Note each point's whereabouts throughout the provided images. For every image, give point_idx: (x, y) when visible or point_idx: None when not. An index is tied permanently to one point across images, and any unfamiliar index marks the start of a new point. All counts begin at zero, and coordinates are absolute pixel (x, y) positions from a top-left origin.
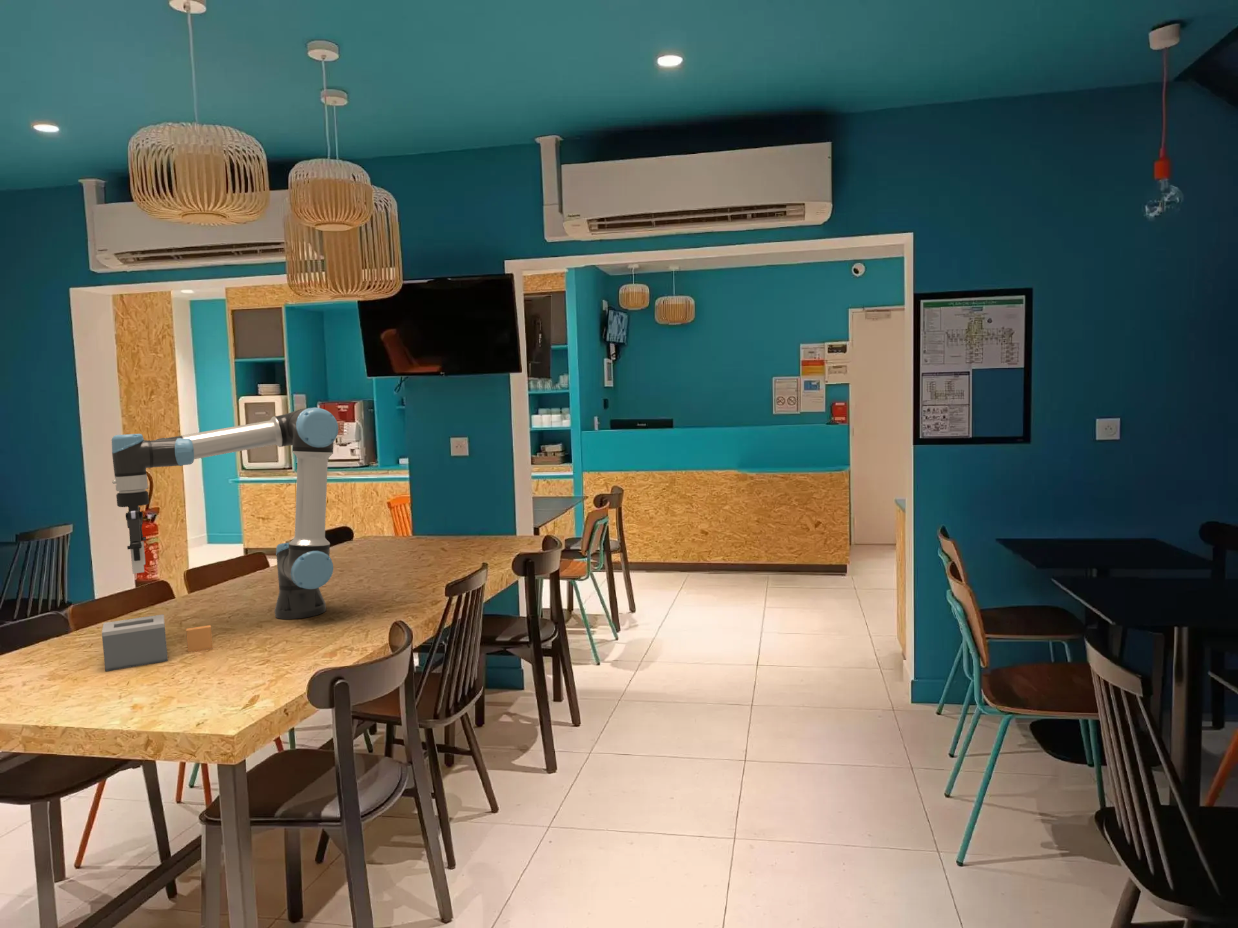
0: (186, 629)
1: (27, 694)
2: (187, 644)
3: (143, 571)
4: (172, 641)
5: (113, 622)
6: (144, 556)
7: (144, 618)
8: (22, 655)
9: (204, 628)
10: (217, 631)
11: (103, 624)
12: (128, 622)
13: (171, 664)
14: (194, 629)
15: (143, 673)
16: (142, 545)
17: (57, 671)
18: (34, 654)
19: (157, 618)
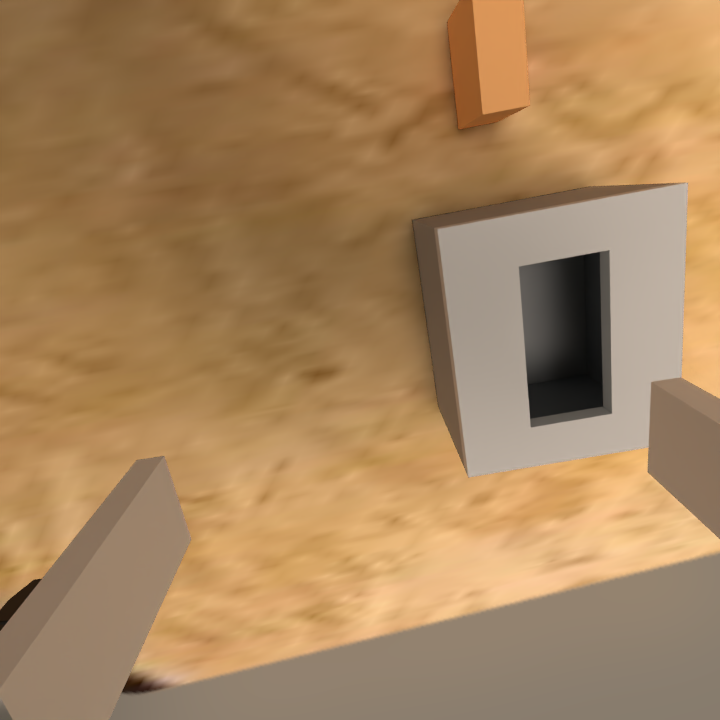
0: (500, 109)
1: (698, 526)
2: (488, 121)
3: (684, 386)
4: (256, 223)
5: (488, 438)
6: (128, 510)
7: (485, 312)
8: (229, 649)
9: (522, 10)
10: (148, 33)
11: (504, 470)
12: (526, 372)
13: (638, 165)
14: (526, 64)
15: (698, 249)
16: (47, 641)
17: (487, 515)
18: (232, 624)
19: (530, 244)
